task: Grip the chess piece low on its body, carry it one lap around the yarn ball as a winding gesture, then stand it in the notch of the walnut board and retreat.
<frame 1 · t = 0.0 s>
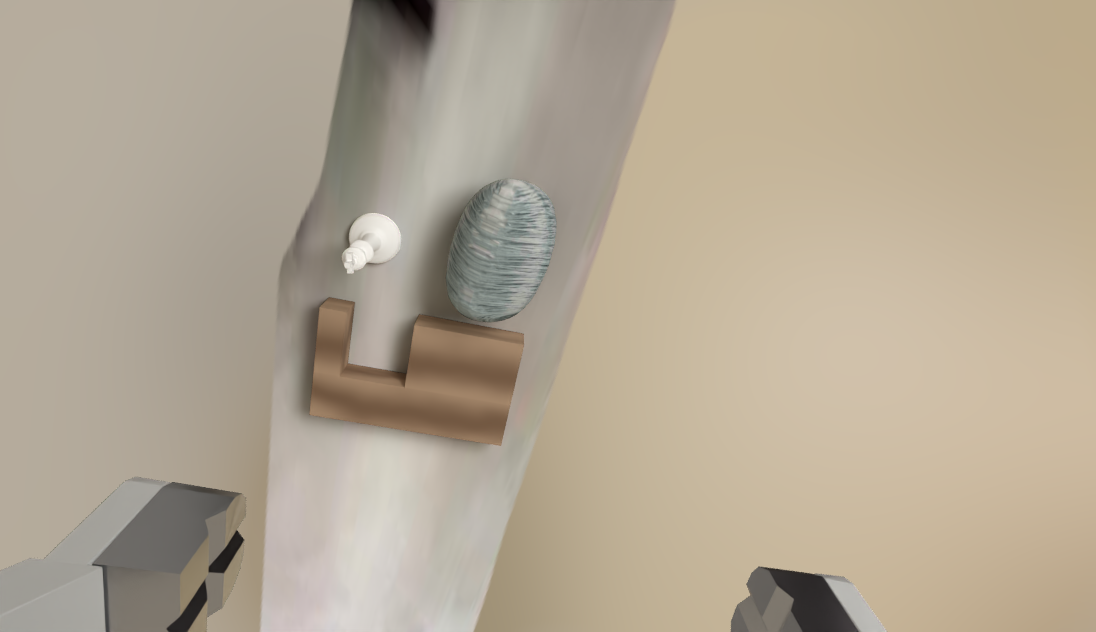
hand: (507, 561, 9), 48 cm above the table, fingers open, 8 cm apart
chess piece: (376, 237, 55), on the table
yarn ball: (501, 241, 56), on the table
notch board: (420, 367, 60), on the table
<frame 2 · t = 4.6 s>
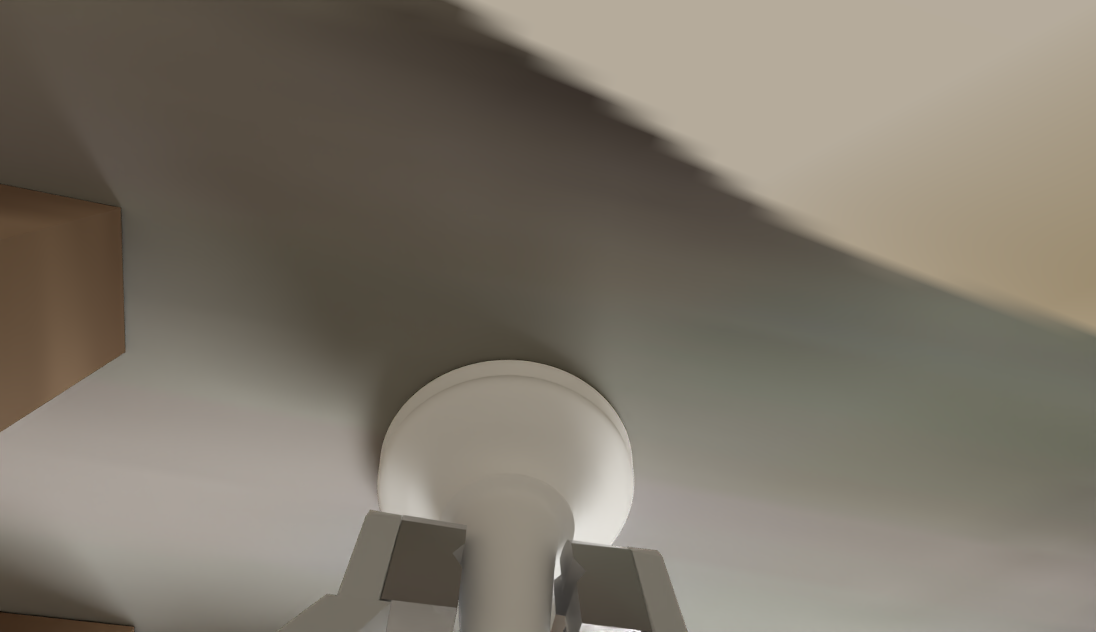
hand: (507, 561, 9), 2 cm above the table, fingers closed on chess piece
chess piece: (507, 465, 11), on the table, touching gripper
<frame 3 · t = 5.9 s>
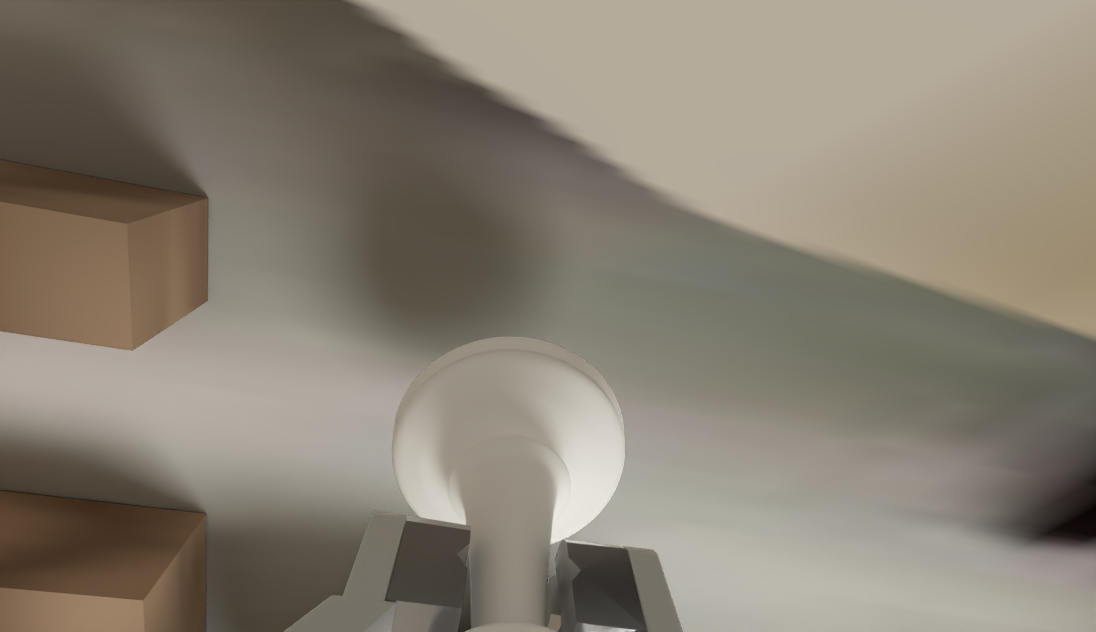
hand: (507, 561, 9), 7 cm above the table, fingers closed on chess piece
chess piece: (510, 435, 12), point 3 cm above the table, touching gripper
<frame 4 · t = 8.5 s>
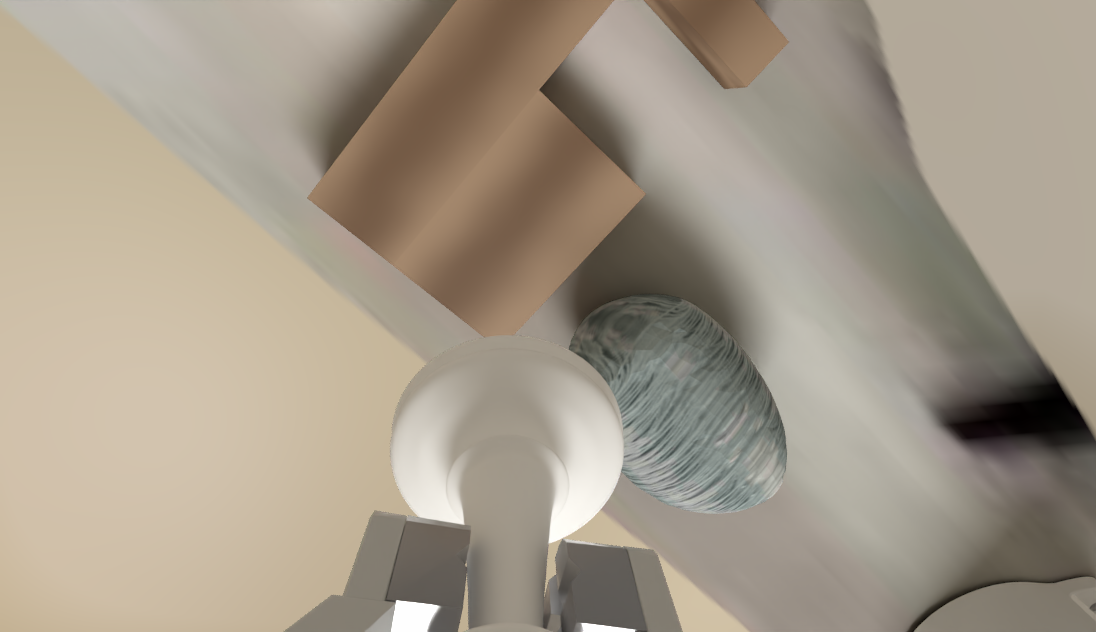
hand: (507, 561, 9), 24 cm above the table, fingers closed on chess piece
chess piece: (508, 434, 12), point 20 cm above the table, touching gripper
yarn ball: (660, 370, 35), on the table
notch board: (539, 120, 29), on the table
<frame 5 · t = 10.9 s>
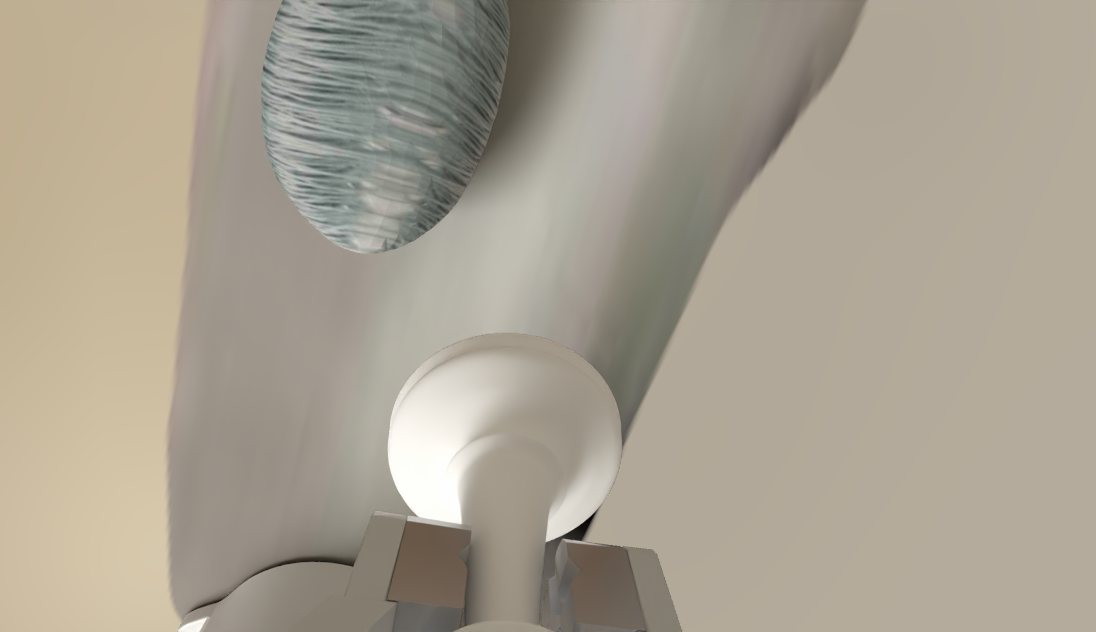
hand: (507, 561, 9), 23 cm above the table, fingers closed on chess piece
chess piece: (506, 432, 12), point 19 cm above the table, touching gripper
yarn ball: (407, 94, 28), on the table
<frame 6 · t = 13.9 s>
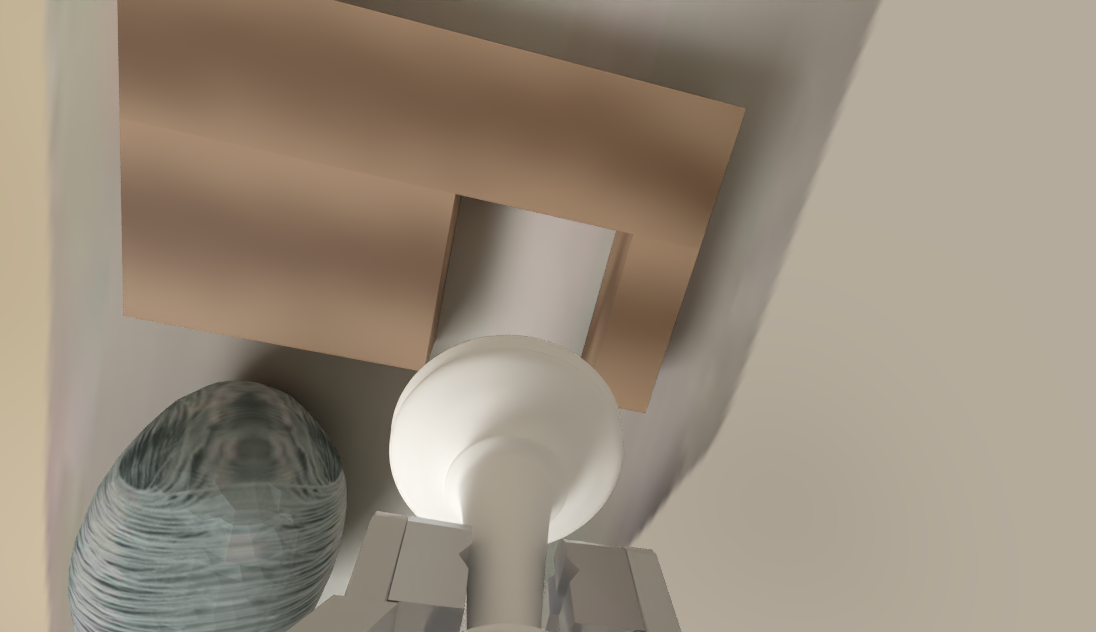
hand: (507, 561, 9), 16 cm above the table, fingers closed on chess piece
chess piece: (508, 434, 12), point 12 cm above the table, touching gripper
yarn ball: (264, 484, 27), on the table
notch board: (435, 202, 23), on the table
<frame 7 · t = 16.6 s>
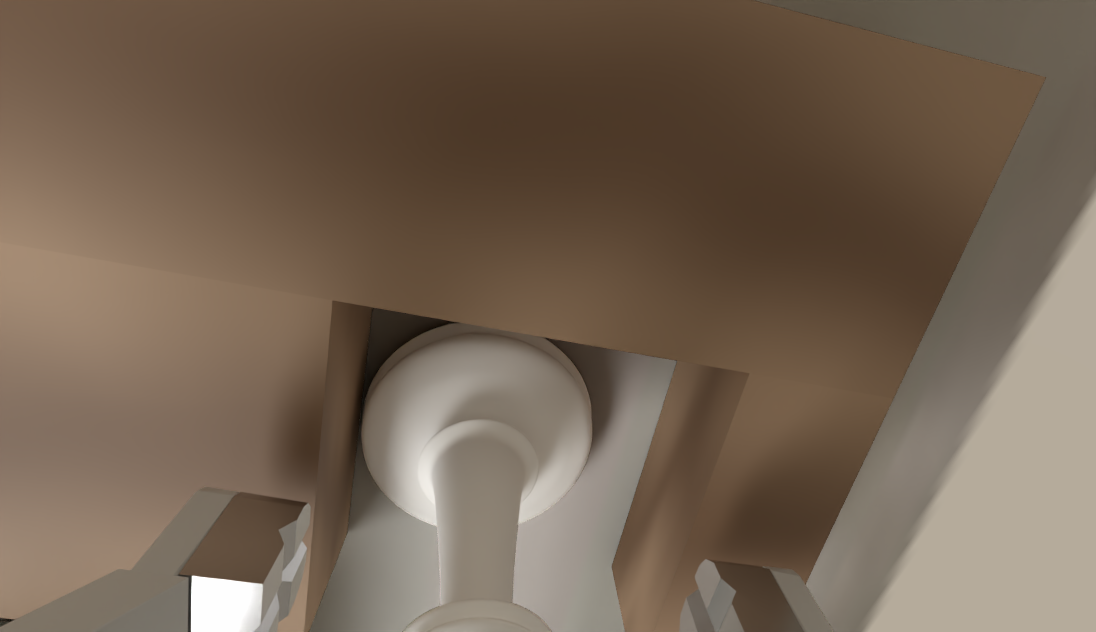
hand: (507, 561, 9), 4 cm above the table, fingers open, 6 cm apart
chess piece: (479, 418, 13), resting in notch board
notch board: (325, 289, 11), on the table
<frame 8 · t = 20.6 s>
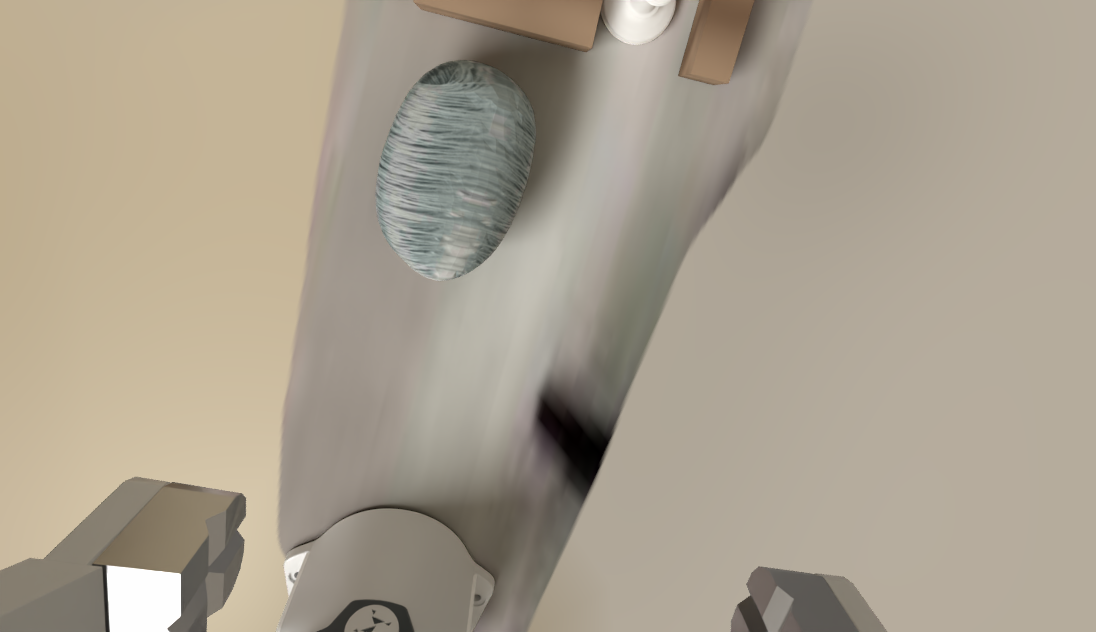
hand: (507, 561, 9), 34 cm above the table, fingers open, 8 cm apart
chess piece: (636, 3, 37), resting in notch board
yarn ball: (461, 167, 40), on the table
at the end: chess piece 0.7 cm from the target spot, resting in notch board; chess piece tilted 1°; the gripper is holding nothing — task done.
